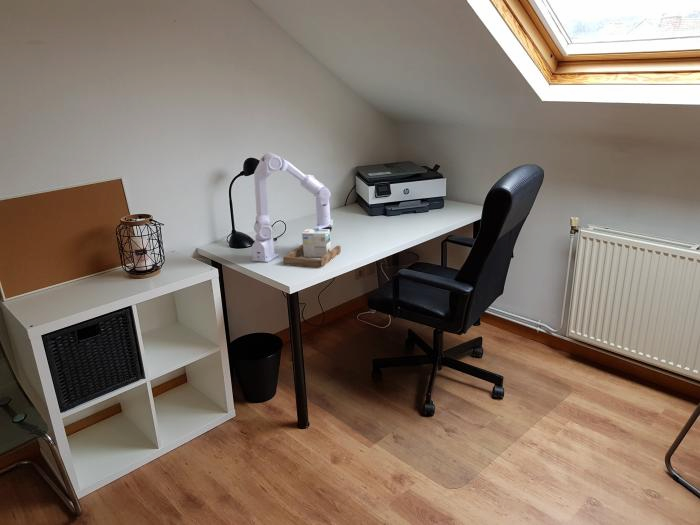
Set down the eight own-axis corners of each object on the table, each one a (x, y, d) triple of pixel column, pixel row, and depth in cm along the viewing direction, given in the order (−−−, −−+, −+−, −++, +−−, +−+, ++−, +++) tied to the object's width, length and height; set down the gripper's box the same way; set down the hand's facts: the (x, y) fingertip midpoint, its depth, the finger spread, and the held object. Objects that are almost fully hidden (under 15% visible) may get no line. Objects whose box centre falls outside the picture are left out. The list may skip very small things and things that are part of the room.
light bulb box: (331, 252, 249) (330, 228, 246) (327, 257, 243) (326, 233, 239) (307, 252, 251) (306, 228, 248) (303, 257, 245) (301, 232, 242)
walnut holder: (321, 267, 231) (321, 260, 230) (283, 264, 238) (283, 257, 237) (340, 252, 249) (340, 245, 248) (305, 249, 255) (304, 242, 254)
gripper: (324, 218, 241) (326, 249, 246) (338, 209, 254) (340, 239, 258) (309, 217, 244) (311, 248, 248) (323, 209, 257) (325, 238, 261)
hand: (325, 243), depth 254 cm, fingers closed
